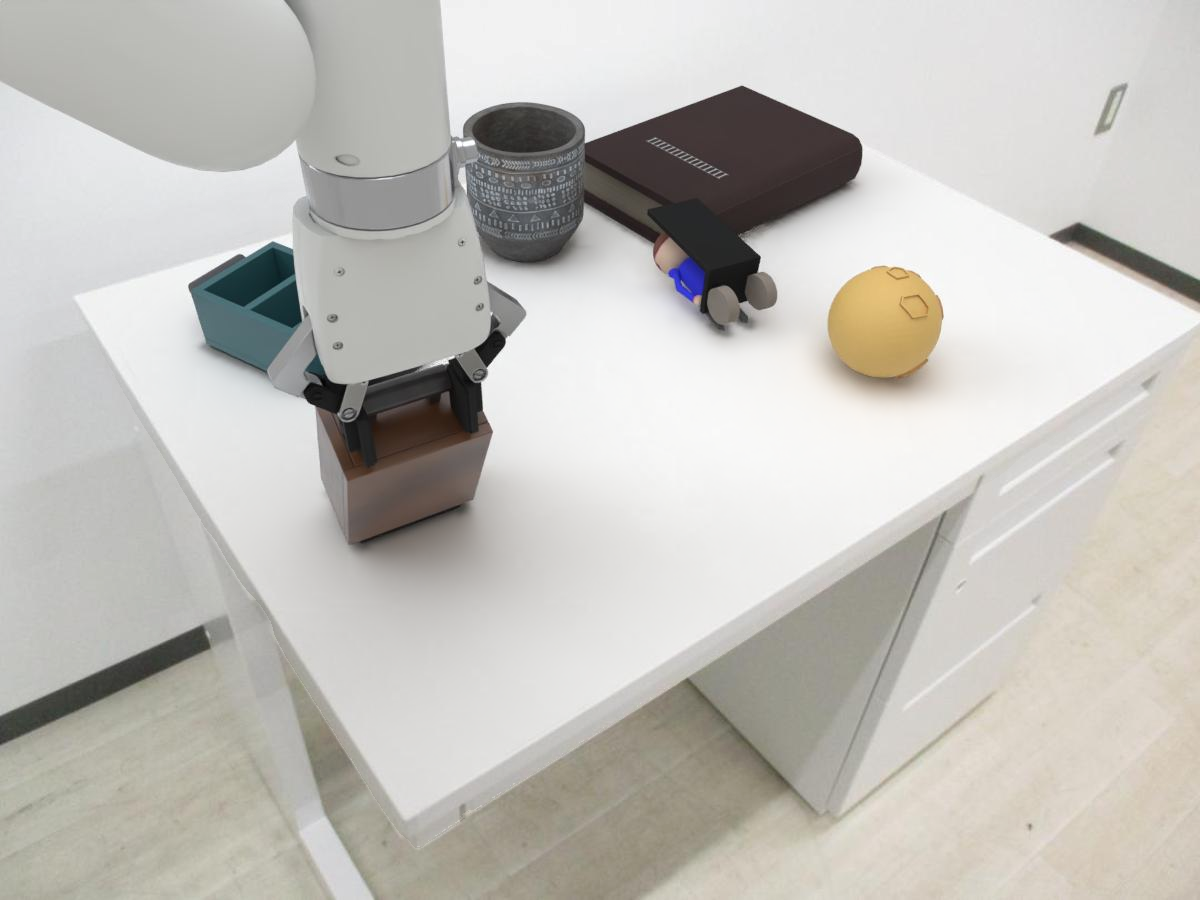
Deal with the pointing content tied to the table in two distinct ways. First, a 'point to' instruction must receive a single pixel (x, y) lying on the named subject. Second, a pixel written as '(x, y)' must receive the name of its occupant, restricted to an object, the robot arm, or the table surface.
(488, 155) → the planter
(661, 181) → the book
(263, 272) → the teal shelf
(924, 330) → the stress ball
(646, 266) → the table surface
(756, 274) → the figurine character
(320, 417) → the walnut shelf
